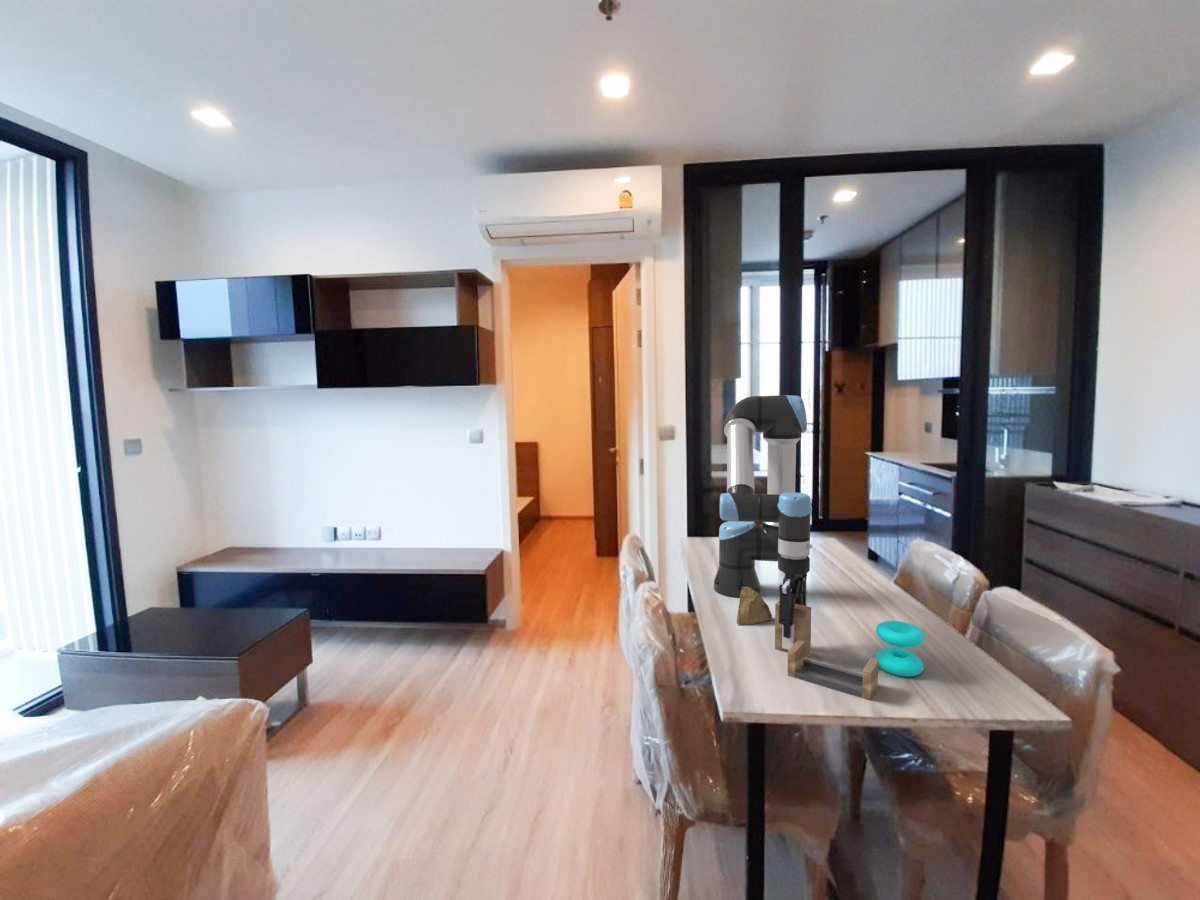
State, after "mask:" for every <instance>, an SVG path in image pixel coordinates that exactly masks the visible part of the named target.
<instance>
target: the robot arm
mask: <svg viewBox="0 0 1200 900" xmlns="http://www.w3.org/2000/svg"><path fill="white" fill-rule="evenodd" d="M806 411H807V410H806V407H805V403H804V400H803V398H802V397H801V396H799V395H789V394H785V395H784V394H782V395H781V394H780V395H779V394H778V395H759V396H758V395H751V396H750V395H749V396H747V397H745V398H743V399H741V400H740V401H738V402H736V403H735V404H734V405H733V406H732V408H730V410H729V411H728V413H727V415H726V417H725V419H724V424H723V426H724V427H723V433H724V435H725V437H726V439H727V442H726V443H727V446H726V447H727V448H726V449H727V450H726V458H727V459H726V463H727V464H726V466H727V467H726V492H725V493H724V492H723V493H721V494H720V495H719V518H720V519H721V520H722V521H724V522H723V523H721V525H720V526H719V532H718V540H719V541H718V542H719V543H718V568H717V572H716V573H715V577H714V580H713V590H714V591H715V592H716V593H718V594H720V595H723V596H727V597H732V598H740V593H741V588H742V586H744V587H750V588H752V589H753V590H754V591H756V592H757V593H759V594H760V592H761V583H760V580H759V577H758V574H757V571H756V566H755V565H756V561H760V562H777V568H778V570H779V571H780V572H782V573H783V574H784V577H783V580H782V584H779V586H778V589H779V600H780V604H779V621H778V622H779V624H782V648H784V649H788V650H789V649H790V648H791V647H792V646H793V645H794V624H793V617H794V608H795V604H799V605H804V606H807V578H808V577H807V576H808V573H810V570H811V569H810V568H811V558H810V555H811V553H810V552H811V549H812V548H813V545H812V544H811V519H812V518H811V514H812V505H811V503H812V501H811V500H812V499H811V496H810V495H808V493H807V494H806V493H802V492H796V472H797V471H796V467H797V465H796V464H797V443H798V442H799V441H800V440H801V439H802V433H806V432H807V430H808V420H807V413H806ZM756 433H762V439H763V440H764V441H765V442H766V443H767V483H766V486H767V488H766V489H767V490H766V493H765V494H764V493H755V468H754V467H755V465H754V462H755V461H754V438H753V437H754V436H755V434H756ZM756 523H761V524H756Z"/></svg>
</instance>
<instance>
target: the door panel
mask: <svg viewBox="0 0 1200 900" xmlns="http://www.w3.org/2000/svg"><path fill="white" fill-rule="evenodd" d="M779 604H780V599H779V600H778V601H777V602H776V603H775V605H774V606H775V611H774V613H775V615H774V621H775V622H774V650H777V651H780V652H785V653H787V654H788V649H784V648H782V624H779V622H778V621H779ZM793 624H794V643H795V642H796V641H797V640H798V639H800V640H804V641H805V659H807V658H808V657H809V656H810V654H811V653H812V651H811V649H812V647H811V646H812V643H811V641H812V607H811V606H807V605H806V606H804V605H799V604H795V608H794V617H793Z"/></svg>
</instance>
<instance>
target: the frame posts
mask: <svg viewBox="0 0 1200 900" xmlns="http://www.w3.org/2000/svg"><path fill="white" fill-rule="evenodd" d="M804 659H806V657H805V641H804V640H800V639H798V640H797V641H796V642H795V643H794V645H793V646H792V647H791V648H790V649H789V650H788V653H787V676H789V677H792V678H795V670H796V669H798V670H800V669H801V668H802V666H803V661H804ZM879 668H880V667H879V660H878V659H875V657H874V658H873V657H870V658H869V660H868V662H867V663H866V665H865V667H864V669H863V670H862V675H863V684H862V699H865V700H868V701H871V700H872V698H873V696H874V694H875V692H876V690H877V688H878V686H879Z"/></svg>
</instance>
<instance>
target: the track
mask: <svg viewBox="0 0 1200 900" xmlns="http://www.w3.org/2000/svg"><path fill="white" fill-rule="evenodd" d="M794 678H795V679H799V680H802V681H805V682H809V683H812V684H815V685H819V686H822V687H825V688H828V689H831V690H835V691H839V692H842V693H845V694H849V695H851V696H855V697H859V698H862V684H863V673H859V672H858V673H857V672H855V671H851V670H847V669H843V668H839V667H837V666H832V665H829V664H825V663H821V662H819V661H814V660H812V659H807V658H805V659H804V661H803V666H802V668H801V669H800V670H798V669H796V670H795V677H794ZM862 699H863V698H862Z"/></svg>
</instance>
